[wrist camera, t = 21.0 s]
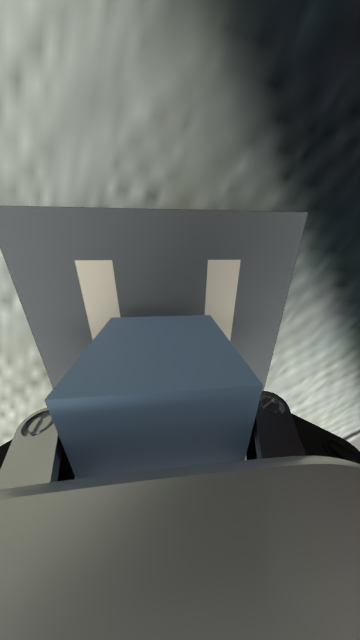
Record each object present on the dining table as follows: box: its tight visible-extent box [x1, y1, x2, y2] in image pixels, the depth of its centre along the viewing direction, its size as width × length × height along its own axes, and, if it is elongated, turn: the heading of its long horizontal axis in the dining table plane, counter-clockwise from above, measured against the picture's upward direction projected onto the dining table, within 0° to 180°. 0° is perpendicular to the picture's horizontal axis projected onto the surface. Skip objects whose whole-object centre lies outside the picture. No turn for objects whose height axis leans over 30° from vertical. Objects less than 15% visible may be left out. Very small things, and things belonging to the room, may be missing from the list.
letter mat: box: [0, 206, 308, 391], centre depth 14 cm, size 20×18×1 cm
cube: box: [45, 315, 263, 479], centre depth 8 cm, size 6×6×6 cm
